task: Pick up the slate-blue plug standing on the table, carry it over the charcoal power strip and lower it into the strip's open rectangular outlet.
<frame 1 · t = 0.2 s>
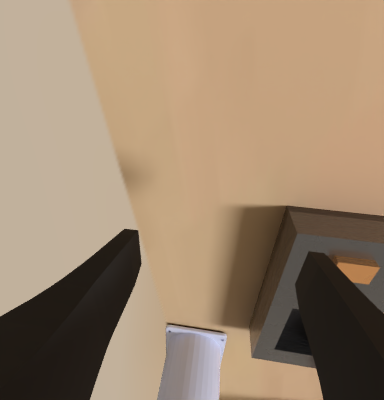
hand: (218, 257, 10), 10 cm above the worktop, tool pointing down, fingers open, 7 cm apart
power strip: (309, 283, 24), on the worktop
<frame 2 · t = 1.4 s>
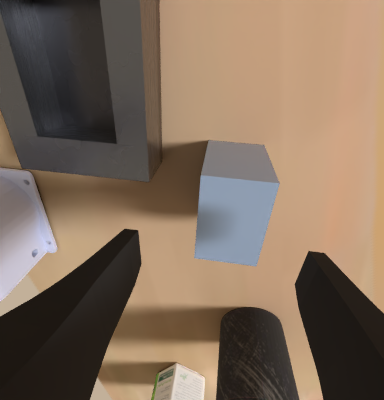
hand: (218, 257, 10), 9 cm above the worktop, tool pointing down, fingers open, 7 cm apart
travel mug: (250, 323, 29), on the worktop
syrup box: (181, 373, 38), on the worktop
power strip: (86, 14, 14), on the worktop
plug: (230, 179, 19), on the worktop
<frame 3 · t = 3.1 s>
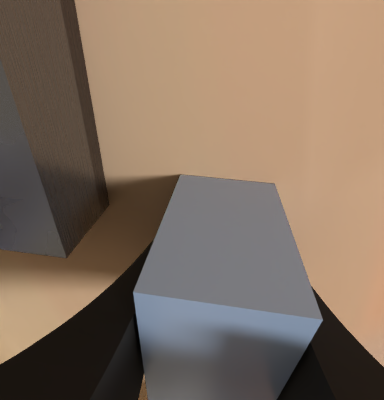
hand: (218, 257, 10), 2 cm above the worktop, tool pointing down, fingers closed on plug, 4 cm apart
plug: (219, 233, 12), on the worktop, touching gripper
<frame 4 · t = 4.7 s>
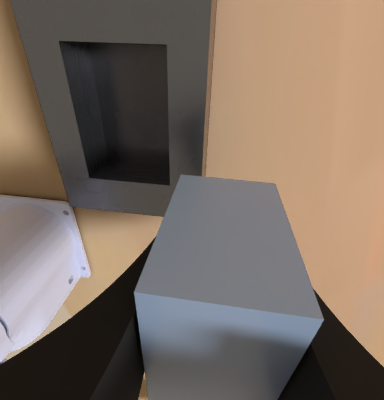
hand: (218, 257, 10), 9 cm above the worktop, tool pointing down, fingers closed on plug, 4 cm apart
power strip: (138, 56, 14), on the worktop
plug: (219, 233, 12), point 7 cm above the worktop, touching gripper
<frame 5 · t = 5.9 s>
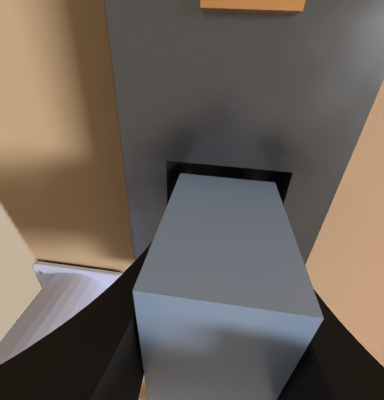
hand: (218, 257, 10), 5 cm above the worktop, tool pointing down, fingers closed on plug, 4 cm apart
power strip: (226, 150, 13), on the worktop
plug: (219, 232, 12), point 4 cm above the worktop, touching gripper
when the fingers open (4 cm above the worktop, at t = 6.5 s): plug drops 2 cm, resting on power strip.
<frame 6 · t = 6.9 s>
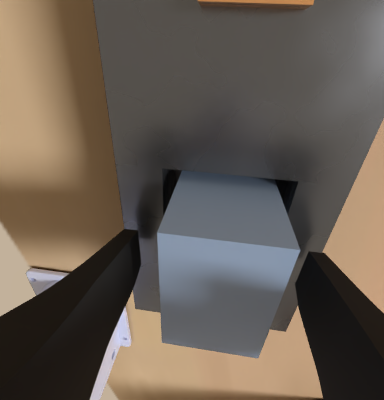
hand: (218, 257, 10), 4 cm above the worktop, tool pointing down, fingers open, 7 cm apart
power strip: (227, 155, 12), on the worktop
plug: (221, 210, 13), point 1 cm above the worktop, touching power strip
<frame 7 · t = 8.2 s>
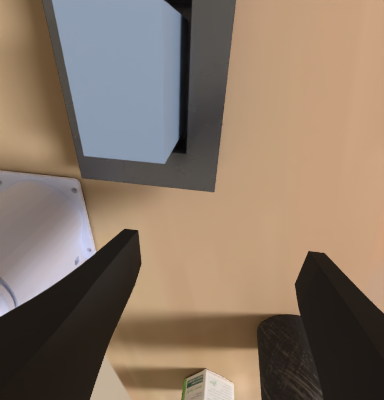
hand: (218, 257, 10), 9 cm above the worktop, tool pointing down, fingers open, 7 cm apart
travel mug: (287, 330, 28), on the worktop
syrup box: (209, 378, 37), on the worktop
power strip: (156, 21, 14), on the worktop
plug: (154, 78, 15), point 1 cm above the worktop, touching power strip
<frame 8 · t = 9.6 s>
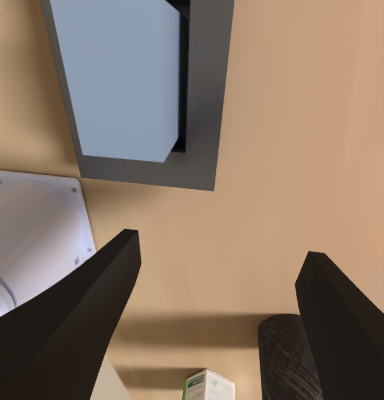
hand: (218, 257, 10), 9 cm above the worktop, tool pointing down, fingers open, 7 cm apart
travel mug: (288, 330, 28), on the worktop
syrup box: (209, 378, 37), on the worktop
power strip: (154, 20, 14), on the worktop
plug: (153, 77, 15), point 1 cm above the worktop, touching power strip
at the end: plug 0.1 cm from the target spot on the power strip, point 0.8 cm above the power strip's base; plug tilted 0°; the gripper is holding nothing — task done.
